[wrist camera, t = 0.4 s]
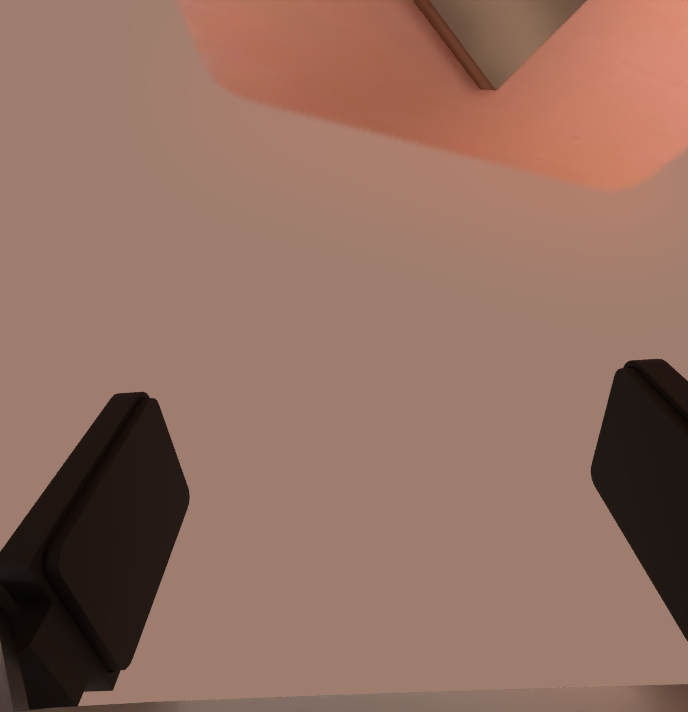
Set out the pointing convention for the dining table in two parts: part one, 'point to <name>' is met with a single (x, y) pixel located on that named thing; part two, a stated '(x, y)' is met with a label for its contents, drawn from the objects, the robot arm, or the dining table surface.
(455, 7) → the brown flat wooden block
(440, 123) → the dining table surface
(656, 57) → the dining table surface
